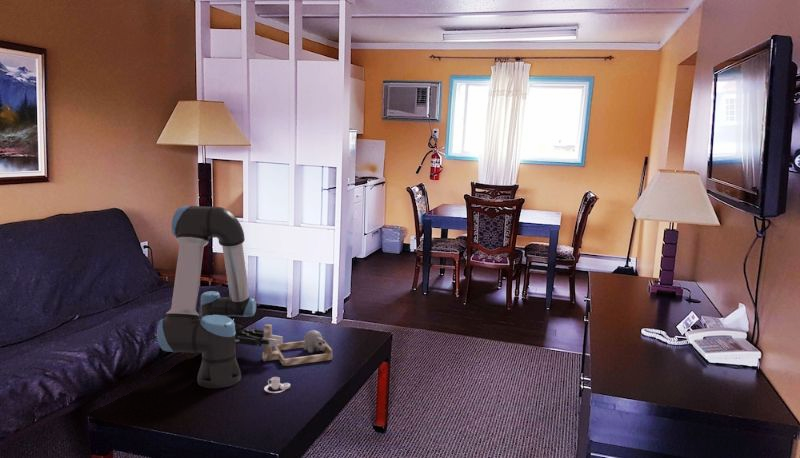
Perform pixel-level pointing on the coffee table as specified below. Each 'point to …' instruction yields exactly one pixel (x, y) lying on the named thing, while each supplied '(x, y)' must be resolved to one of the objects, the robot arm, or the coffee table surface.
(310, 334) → the chubby cartoon animal
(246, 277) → the robot arm
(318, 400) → the coffee table surface
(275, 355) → the pull frame
